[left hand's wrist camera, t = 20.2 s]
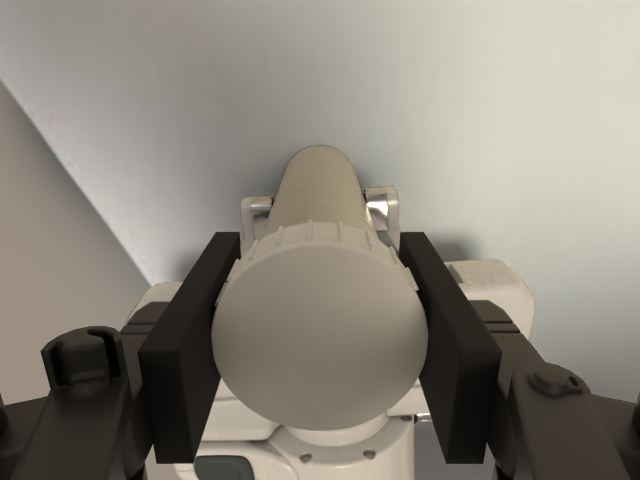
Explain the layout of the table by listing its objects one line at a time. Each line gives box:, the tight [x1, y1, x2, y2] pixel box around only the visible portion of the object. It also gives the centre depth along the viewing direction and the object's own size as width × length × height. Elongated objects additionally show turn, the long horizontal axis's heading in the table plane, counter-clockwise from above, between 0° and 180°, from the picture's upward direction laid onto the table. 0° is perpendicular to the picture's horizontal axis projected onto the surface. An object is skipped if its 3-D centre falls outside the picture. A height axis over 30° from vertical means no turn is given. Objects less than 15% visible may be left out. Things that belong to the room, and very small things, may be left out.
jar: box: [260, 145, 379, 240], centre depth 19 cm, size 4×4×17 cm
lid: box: [211, 220, 429, 431], centre depth 11 cm, size 5×5×2 cm
